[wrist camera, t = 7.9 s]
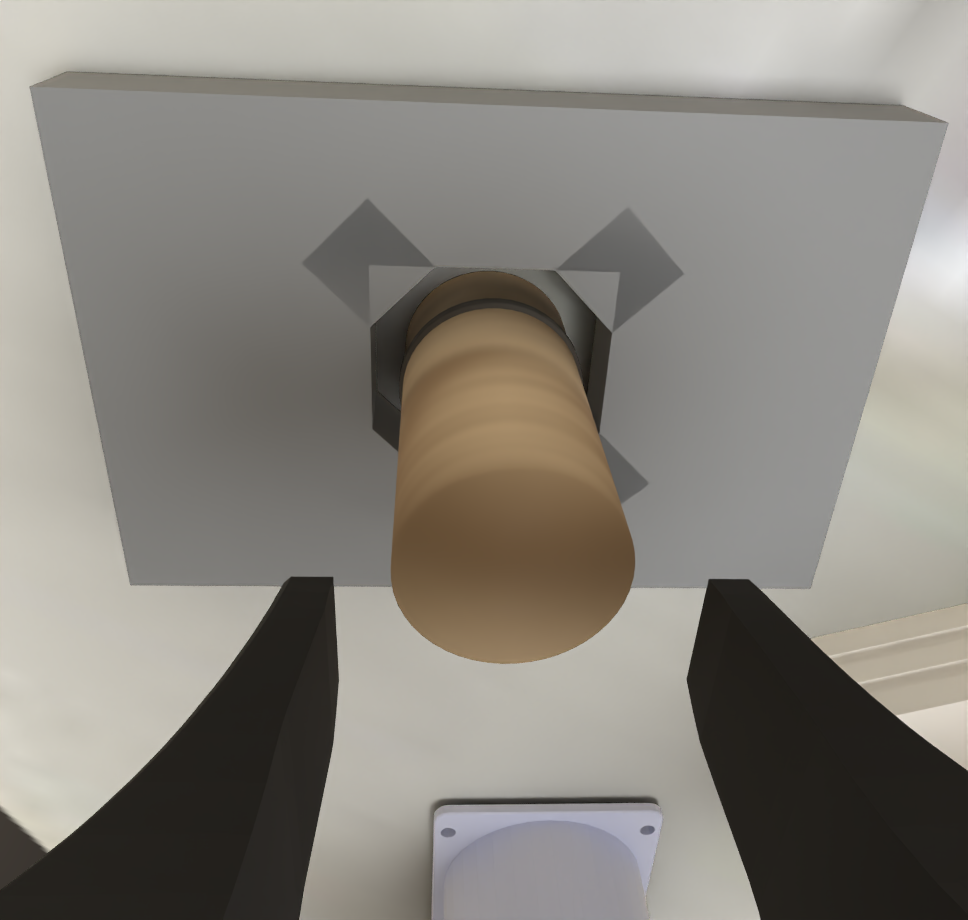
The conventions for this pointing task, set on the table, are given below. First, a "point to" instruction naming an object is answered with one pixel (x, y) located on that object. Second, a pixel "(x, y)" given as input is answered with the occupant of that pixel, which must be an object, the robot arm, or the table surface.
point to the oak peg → (502, 480)
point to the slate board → (472, 244)
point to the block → (914, 672)
